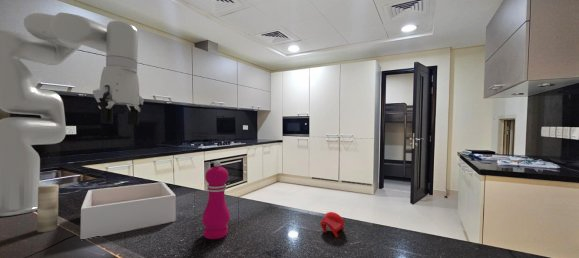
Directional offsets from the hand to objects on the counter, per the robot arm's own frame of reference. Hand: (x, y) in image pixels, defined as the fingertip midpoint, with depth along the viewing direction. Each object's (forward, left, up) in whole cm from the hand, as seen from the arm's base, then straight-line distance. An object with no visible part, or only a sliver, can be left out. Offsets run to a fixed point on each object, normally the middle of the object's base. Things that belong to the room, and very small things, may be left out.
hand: (120, 123), depth 69 cm
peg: (-7, -16, -30) cm, 35 cm away
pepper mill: (+23, +21, -30) cm, 43 cm away
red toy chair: (+41, +48, -30) cm, 70 cm away
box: (-4, +3, -30) cm, 30 cm away
